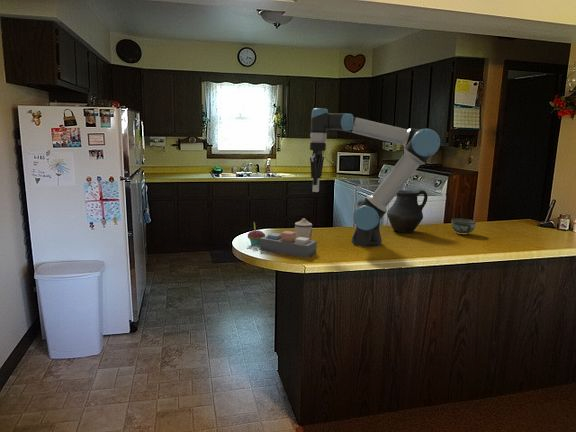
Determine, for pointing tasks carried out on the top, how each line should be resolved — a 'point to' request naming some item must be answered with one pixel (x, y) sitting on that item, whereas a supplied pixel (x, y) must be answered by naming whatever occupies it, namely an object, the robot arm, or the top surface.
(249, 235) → the cupcake
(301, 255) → the tray
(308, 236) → the teacup with lid
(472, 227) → the bowl
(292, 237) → the orange cube
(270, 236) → the blue cube
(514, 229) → the top surface
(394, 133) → the robot arm
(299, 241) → the key ivory
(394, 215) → the pitcher
